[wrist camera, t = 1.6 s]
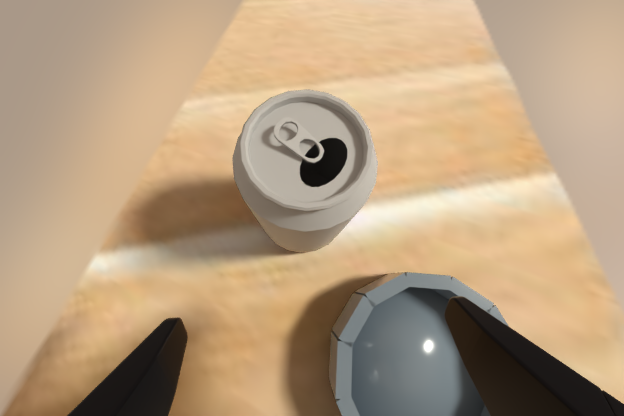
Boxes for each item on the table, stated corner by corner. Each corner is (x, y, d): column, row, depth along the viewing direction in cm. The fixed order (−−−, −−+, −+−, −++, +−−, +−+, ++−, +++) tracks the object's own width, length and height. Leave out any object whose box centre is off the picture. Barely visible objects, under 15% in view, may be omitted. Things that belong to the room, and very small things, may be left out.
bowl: (449, 505, 17) (485, 558, 14) (297, 387, 19) (296, 410, 16) (514, 334, 21) (556, 344, 17) (381, 245, 22) (396, 239, 19)
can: (311, 271, 21) (327, 261, 10) (243, 219, 22) (185, 155, 11) (358, 204, 23) (419, 130, 12) (294, 159, 24) (292, 50, 13)
